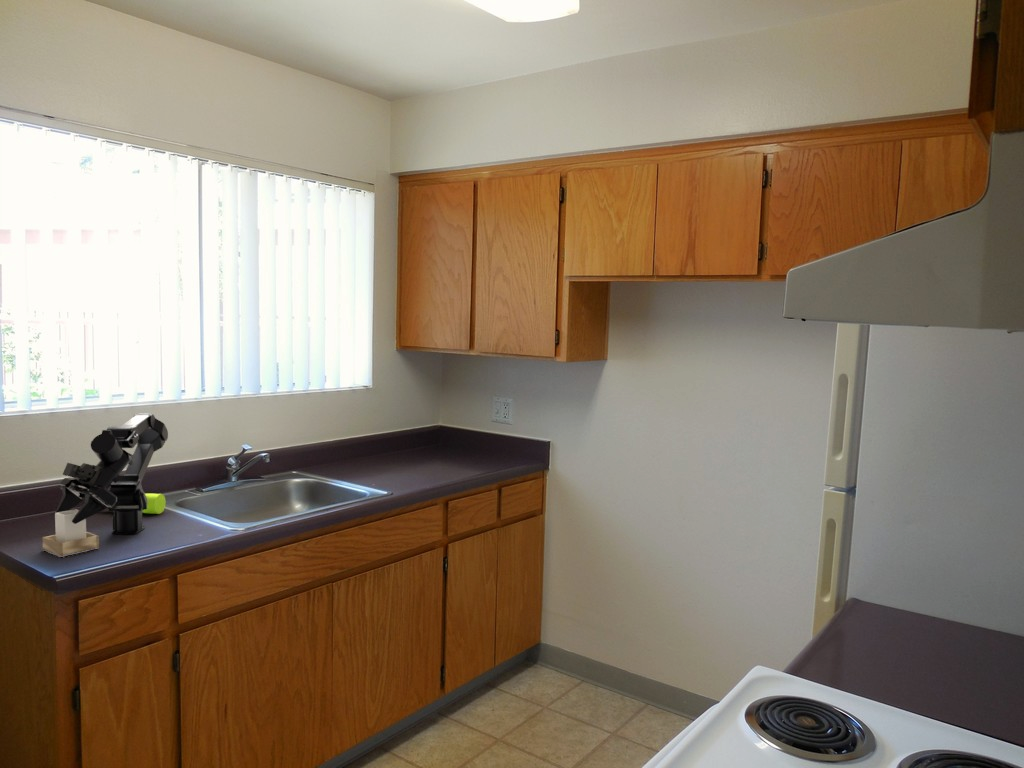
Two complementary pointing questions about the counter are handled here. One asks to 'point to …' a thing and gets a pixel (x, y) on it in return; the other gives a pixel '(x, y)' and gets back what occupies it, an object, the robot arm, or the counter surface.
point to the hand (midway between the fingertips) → (64, 519)
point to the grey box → (69, 527)
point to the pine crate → (70, 544)
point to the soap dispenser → (154, 503)
